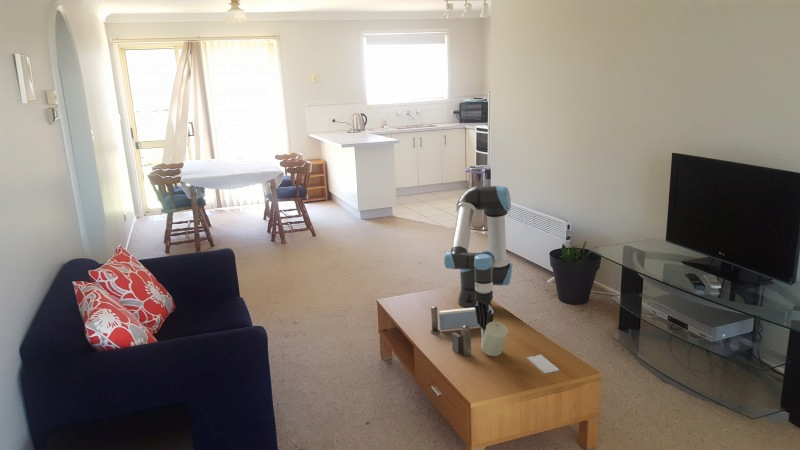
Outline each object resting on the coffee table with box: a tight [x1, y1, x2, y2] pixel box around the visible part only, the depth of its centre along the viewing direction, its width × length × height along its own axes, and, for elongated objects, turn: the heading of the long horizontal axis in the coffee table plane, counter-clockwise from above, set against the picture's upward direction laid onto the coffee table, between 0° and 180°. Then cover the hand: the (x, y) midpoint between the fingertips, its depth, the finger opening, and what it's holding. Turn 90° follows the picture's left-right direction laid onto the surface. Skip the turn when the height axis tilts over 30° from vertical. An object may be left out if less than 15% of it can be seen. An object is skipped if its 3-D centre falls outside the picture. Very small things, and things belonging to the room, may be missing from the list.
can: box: [480, 320, 509, 357], centre depth 245 cm, size 9×9×12 cm
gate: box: [438, 307, 481, 331], centre depth 272 cm, size 22×2×9 cm, turn 97°
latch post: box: [451, 325, 472, 357], centre depth 249 cm, size 5×8×13 cm, turn 27°
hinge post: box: [429, 306, 441, 335], centre depth 270 cm, size 4×4×13 cm
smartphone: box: [525, 353, 561, 375], centre depth 236 cm, size 7×1×15 cm
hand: (484, 341), depth 253 cm, fingers closed
